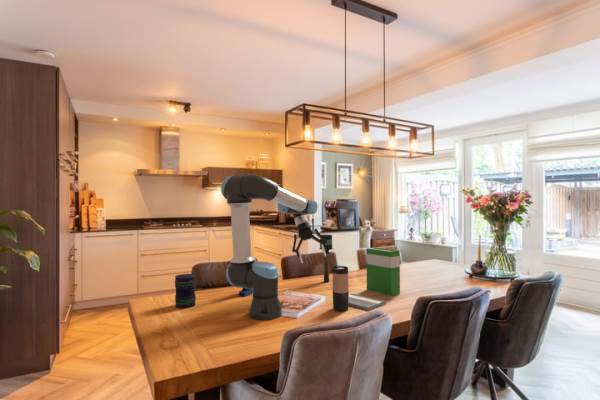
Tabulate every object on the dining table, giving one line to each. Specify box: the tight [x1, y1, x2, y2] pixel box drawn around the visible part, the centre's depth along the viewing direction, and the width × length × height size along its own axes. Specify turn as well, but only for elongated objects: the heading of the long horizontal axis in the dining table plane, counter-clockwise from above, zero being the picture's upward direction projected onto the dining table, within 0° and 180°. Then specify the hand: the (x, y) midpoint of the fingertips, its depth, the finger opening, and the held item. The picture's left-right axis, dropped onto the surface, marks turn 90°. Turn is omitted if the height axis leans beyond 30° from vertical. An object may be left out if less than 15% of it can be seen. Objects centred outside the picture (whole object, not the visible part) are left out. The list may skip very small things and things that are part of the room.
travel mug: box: [332, 265, 350, 312], centre depth 168 cm, size 8×8×20 cm
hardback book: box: [365, 246, 401, 297], centre depth 200 cm, size 18×7×24 cm, turn 38°
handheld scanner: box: [238, 257, 258, 297], centre depth 198 cm, size 5×16×20 cm, turn 152°
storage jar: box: [174, 273, 197, 310], centre depth 176 cm, size 10×10×15 cm
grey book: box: [348, 293, 386, 312], centre depth 178 cm, size 15×21×2 cm
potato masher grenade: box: [319, 233, 334, 283], centre depth 225 cm, size 8×9×30 cm
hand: (314, 259), depth 193 cm, fingers open, 13 cm apart
